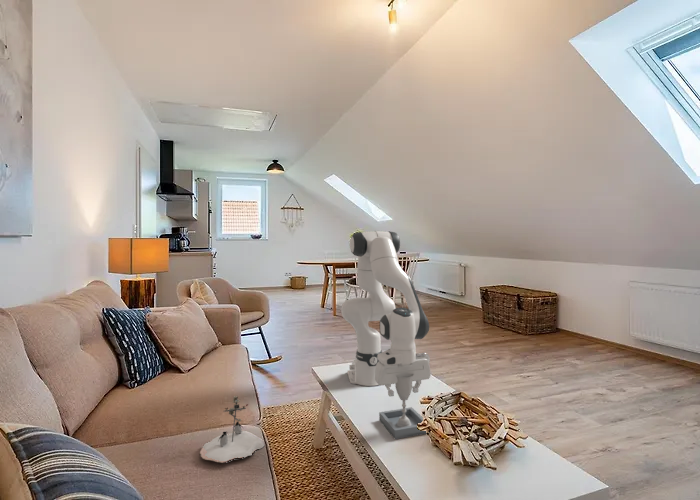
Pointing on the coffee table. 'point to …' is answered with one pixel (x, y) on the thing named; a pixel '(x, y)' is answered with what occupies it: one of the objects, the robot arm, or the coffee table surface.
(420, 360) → the robot arm
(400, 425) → the chalice
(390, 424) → the tray
